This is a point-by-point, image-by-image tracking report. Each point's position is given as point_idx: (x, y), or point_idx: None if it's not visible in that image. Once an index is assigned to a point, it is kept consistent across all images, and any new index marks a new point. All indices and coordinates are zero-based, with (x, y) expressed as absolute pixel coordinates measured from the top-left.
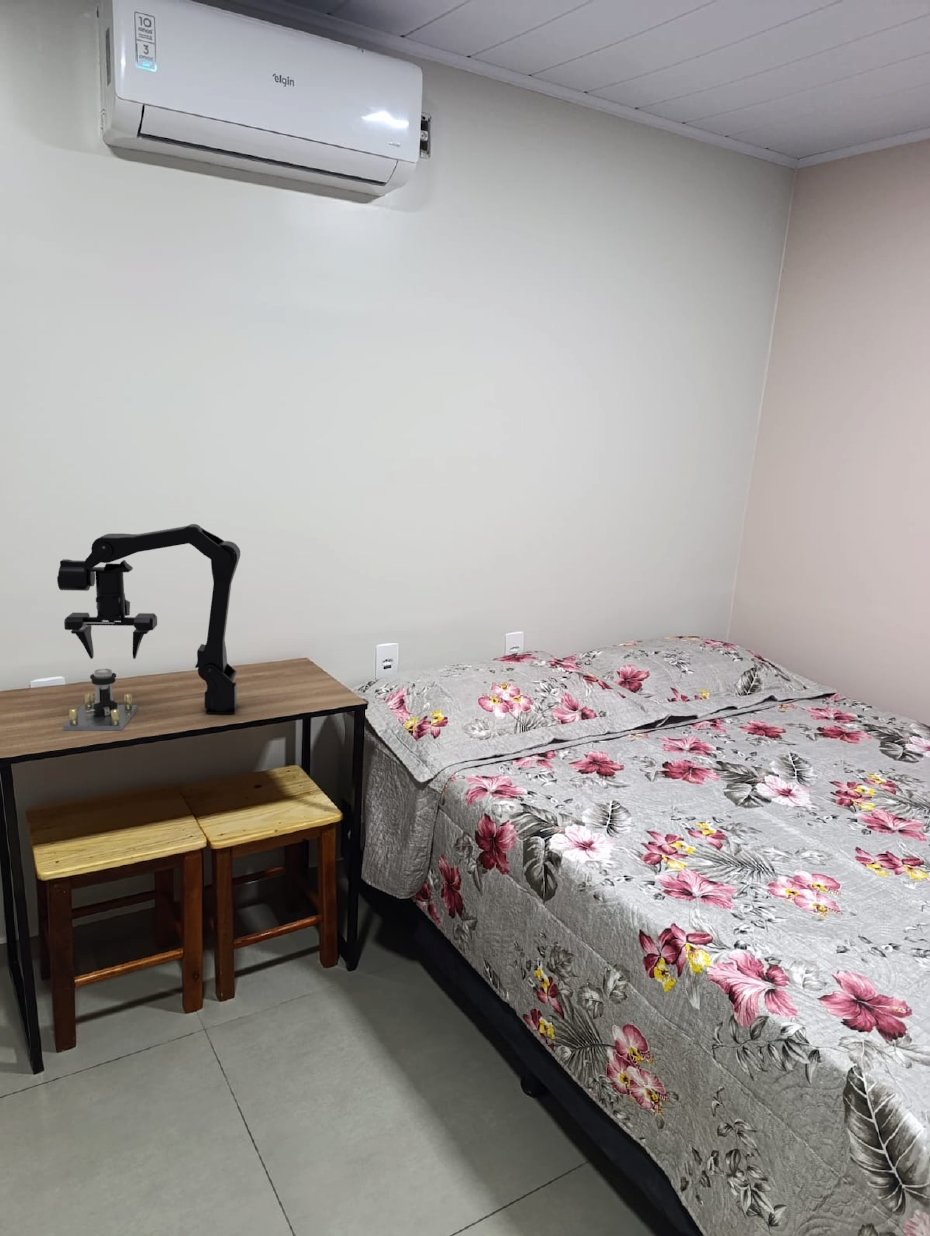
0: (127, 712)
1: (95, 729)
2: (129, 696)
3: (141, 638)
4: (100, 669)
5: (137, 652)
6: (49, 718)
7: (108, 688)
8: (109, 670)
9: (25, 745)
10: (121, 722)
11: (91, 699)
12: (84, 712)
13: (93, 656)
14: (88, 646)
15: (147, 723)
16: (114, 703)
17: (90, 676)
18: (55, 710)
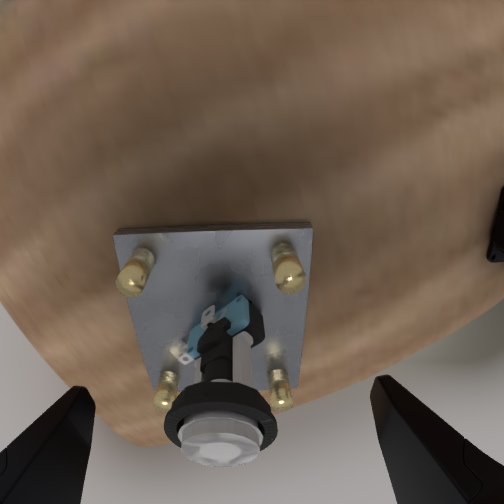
0: (292, 303)
1: None
2: (299, 288)
3: (488, 475)
4: (196, 437)
5: (412, 396)
6: (76, 313)
7: (233, 370)
8: (246, 445)
9: (134, 430)
10: (292, 369)
11: (147, 279)
12: (154, 309)
13: (83, 392)
14: (77, 495)
15: (353, 334)
16: (257, 342)
17: (173, 442)
18: (52, 251)
